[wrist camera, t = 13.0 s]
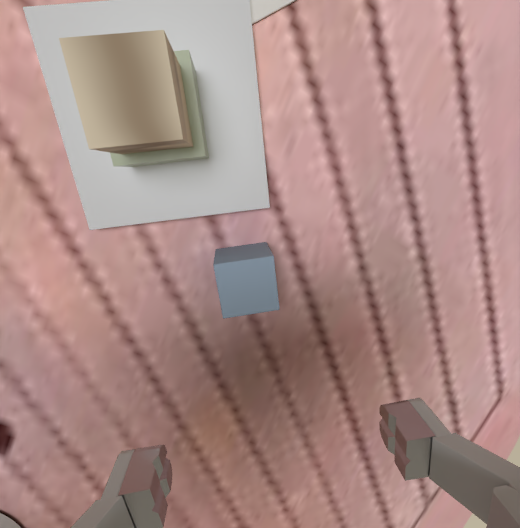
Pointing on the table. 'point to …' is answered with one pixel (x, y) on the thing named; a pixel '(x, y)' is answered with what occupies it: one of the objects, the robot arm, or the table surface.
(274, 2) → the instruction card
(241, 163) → the build plate
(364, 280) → the table surface
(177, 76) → the beech block
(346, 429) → the table surface
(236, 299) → the slate blue block
